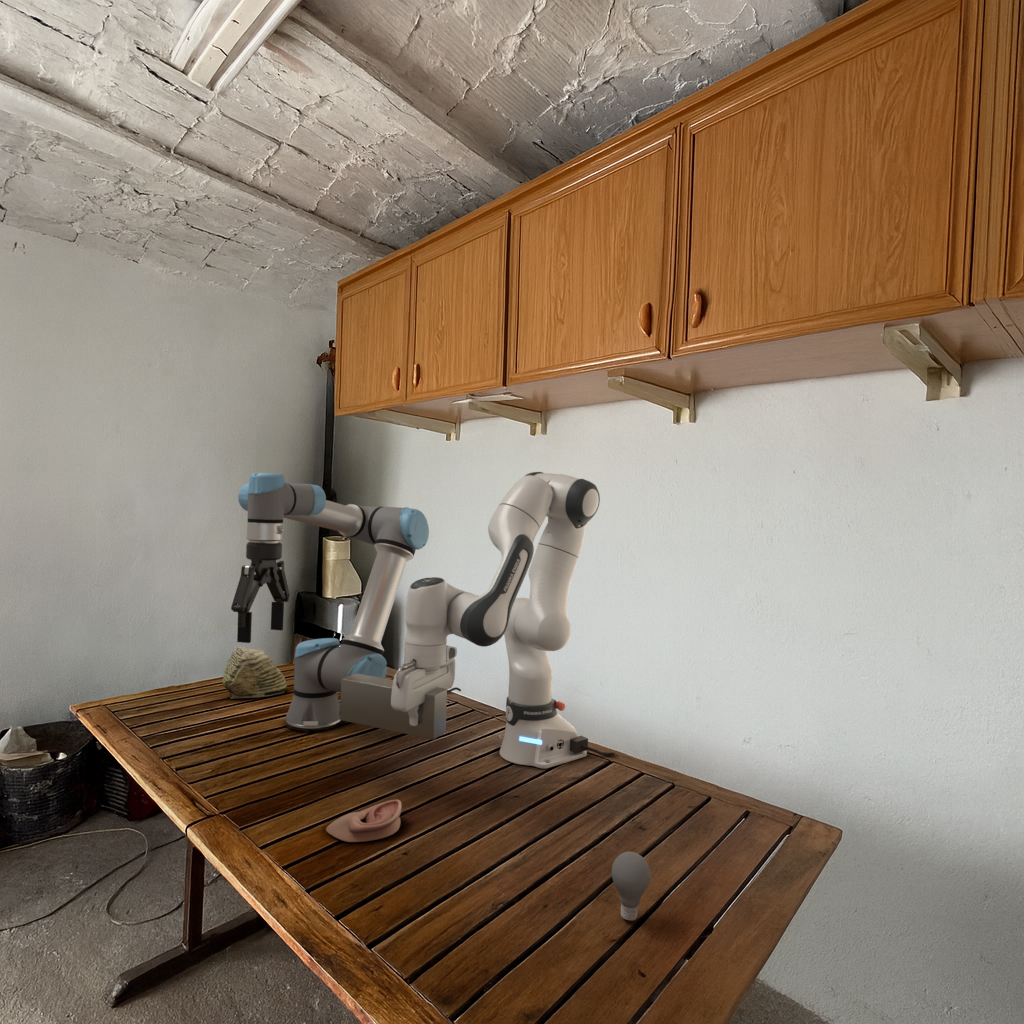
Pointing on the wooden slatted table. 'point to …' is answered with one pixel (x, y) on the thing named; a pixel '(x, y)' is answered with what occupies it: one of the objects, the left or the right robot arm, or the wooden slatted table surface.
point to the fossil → (252, 674)
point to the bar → (390, 707)
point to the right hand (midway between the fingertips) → (423, 719)
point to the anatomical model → (368, 823)
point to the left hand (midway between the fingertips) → (261, 635)
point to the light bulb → (630, 881)
